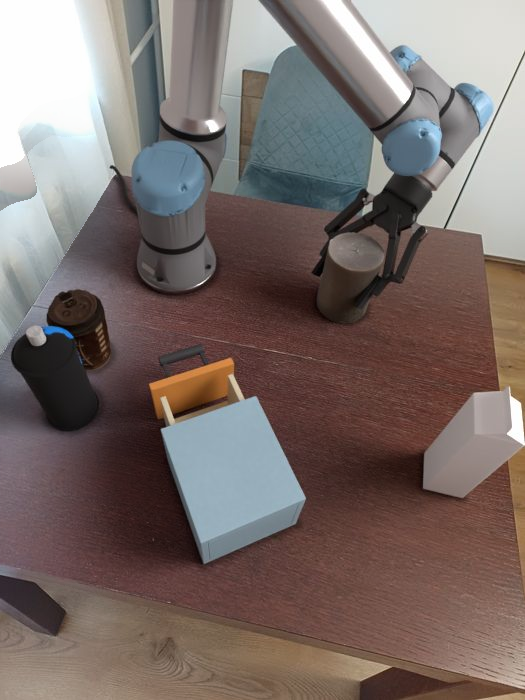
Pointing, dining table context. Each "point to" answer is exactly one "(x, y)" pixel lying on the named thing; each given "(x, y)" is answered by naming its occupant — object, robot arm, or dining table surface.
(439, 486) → the milk
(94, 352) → the coffee cup
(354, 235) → the pillar candle
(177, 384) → the orange drawer
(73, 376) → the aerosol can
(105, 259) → the dining table surface
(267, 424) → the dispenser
